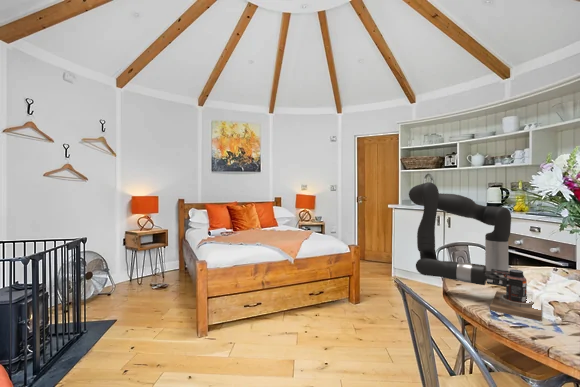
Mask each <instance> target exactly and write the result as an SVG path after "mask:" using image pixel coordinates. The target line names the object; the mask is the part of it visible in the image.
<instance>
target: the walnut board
mask: <svg viewBox="0 0 580 387" xmlns="http://www.w3.org/2000/svg"><path fill="white" fill-rule="evenodd" d="M533 304H534V302H532V301H531V302H529V303H518V302H513V301H510V300H507V299H506V291H505V292H504V291H499V290H496V291H495V293H494V296H493V298H492V301H491V303H490V305H489V311H491V310H492V312H497V313H501V314H502V313H503V314H507V315H510V316H511V315H512V316H515V317H522V318H527V319H531V320H536V321H541V322H542V320H543V319H542V316H543V315H542V311H543V309H542V310H538V309H534V308H532V305H533Z"/></svg>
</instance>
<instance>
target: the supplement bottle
mask: <svg viewBox="0 0 580 387" xmlns="http://www.w3.org/2000/svg"><path fill="white" fill-rule="evenodd" d="M509 271H510V272H509V273H510V274H509V275H508V276H507V277H506V278H509V280H510V279H516V280H522V281H523V287H517V286H511V285H509V286H507V287H505V290H506V291H505V292H506V299H507V300H510V301H513V302H518V303H526V301H527V300H526V299H527V296H528V295H527V290H528V289H527V288H528V287H527V286H528V285H527V284H528V283H527V278H526V277H525V275H524V271H523V270H520V269H509ZM523 275H524V276H523Z"/></svg>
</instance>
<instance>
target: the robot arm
mask: <svg viewBox="0 0 580 387" xmlns="http://www.w3.org/2000/svg"><path fill="white" fill-rule="evenodd" d="M408 197H409V199H410V201H411V203H413V204H414V205H417V206H420V207H423V213H422V217H421V220H420V222H419V225H418V228H417V232H416V233H417V234H416V238H417V239H416V241H417V242H416V245H417V250H418V252H419V257H420V258H419V259H418V260H417V261H416V263H415V268H416V271H417V273H419V274H420V275H423V276H427V277H437V278H444V279H448V280H453V281H454V280H455V281H460V282H463V283H469V284H472V285H473V284H474V285H480V286H485V285H486V284H487V285H493V286H499V287H504V288H506V287H507V286H509V285H511V286H517V287H523V281H522V280H516V279H510V280H509V278H506V277H507V276H508V275H509V274H510V273H509V272H510V270H509V239H510V236H511V230H512V229H511V228H512V227H511V226H512V214H511V211H510V210H509V209H508V208H506V207H505V206H504V207H502V206H487V205H482V204H478V203H477V202H475V201H474V200H473V199H471V198H469V197H468V196H463V195H460V194H454V193H439V187H438V186H437V185H436V184H435V183H433V182H424V183H421V184H417V185H415V186H412V187H411V188H410V190H409V192H408ZM438 210H439V211H443V212H445V213H449V214H452V215H455V216H457V217H462V218H466V219H467V218H468V219H472V220H476V221H478V222H480V223H483V224H485V225H487V226H492V227H493V230H492V231H491V232H487V233H485V240H484V241H485V243H484V244H485V246H484V247H485V250H484V252H485V253H484V254H485V256H484V261H485V262H484V263H485V264H479V263H470V262H457V261H450V260H448V261H447V260H439V259H437V258H438V257H437V253H436V233H435V231H436V221H437V219H436V218H437V212H438ZM523 276H524V277H525V275H524V274H523Z"/></svg>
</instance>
